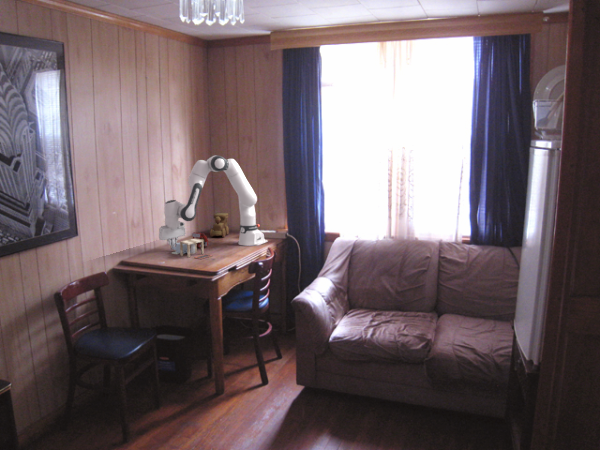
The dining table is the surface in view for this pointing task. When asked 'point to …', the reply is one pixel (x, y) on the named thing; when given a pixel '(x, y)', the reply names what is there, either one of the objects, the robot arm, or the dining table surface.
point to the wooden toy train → (220, 225)
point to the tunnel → (189, 246)
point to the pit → (203, 256)
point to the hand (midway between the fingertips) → (172, 244)
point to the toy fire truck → (199, 236)
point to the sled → (183, 247)
